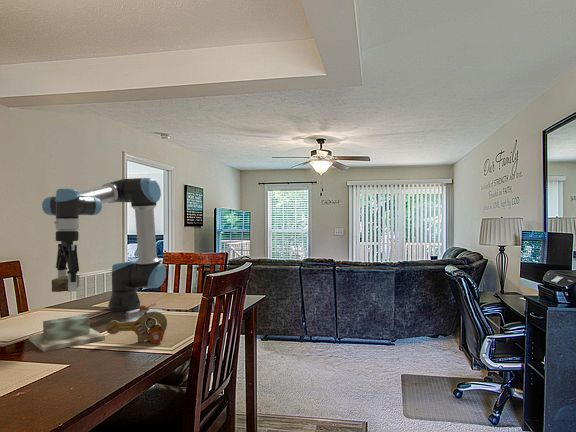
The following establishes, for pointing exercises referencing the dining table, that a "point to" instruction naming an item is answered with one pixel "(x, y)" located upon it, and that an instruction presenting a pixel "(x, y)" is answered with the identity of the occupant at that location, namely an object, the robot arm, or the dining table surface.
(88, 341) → the tower base
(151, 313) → the toy helicopter
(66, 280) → the stone block
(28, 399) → the dining table surface
